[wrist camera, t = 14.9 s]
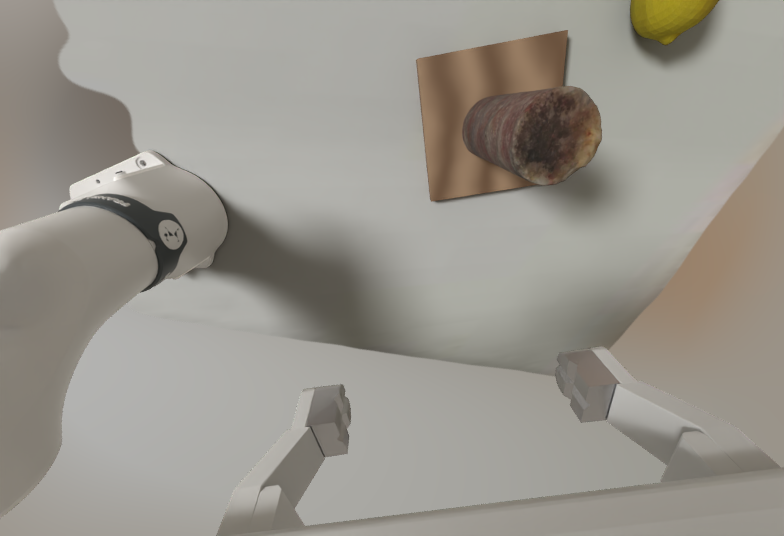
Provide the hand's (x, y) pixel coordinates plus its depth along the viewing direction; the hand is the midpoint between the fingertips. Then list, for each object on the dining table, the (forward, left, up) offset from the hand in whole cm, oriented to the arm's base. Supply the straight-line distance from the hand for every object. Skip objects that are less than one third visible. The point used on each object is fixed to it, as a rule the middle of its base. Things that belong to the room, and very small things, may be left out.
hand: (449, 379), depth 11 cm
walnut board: (+12, +5, -38) cm, 40 cm away
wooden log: (+12, +5, -37) cm, 39 cm away
